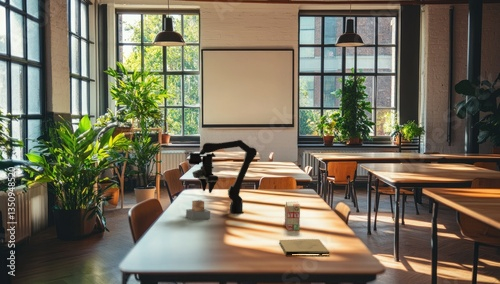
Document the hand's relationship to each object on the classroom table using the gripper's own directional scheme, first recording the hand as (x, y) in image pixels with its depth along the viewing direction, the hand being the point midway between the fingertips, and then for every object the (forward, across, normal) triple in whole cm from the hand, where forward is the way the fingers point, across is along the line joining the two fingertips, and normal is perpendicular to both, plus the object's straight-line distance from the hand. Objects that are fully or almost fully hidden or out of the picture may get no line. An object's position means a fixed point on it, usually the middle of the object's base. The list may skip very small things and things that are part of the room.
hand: (206, 191), depth 284 cm
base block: (+12, +12, -10) cm, 20 cm away
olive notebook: (+13, +92, +5) cm, 93 cm away
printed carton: (+12, +50, +26) cm, 58 cm away
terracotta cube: (+8, +12, -10) cm, 17 cm away
